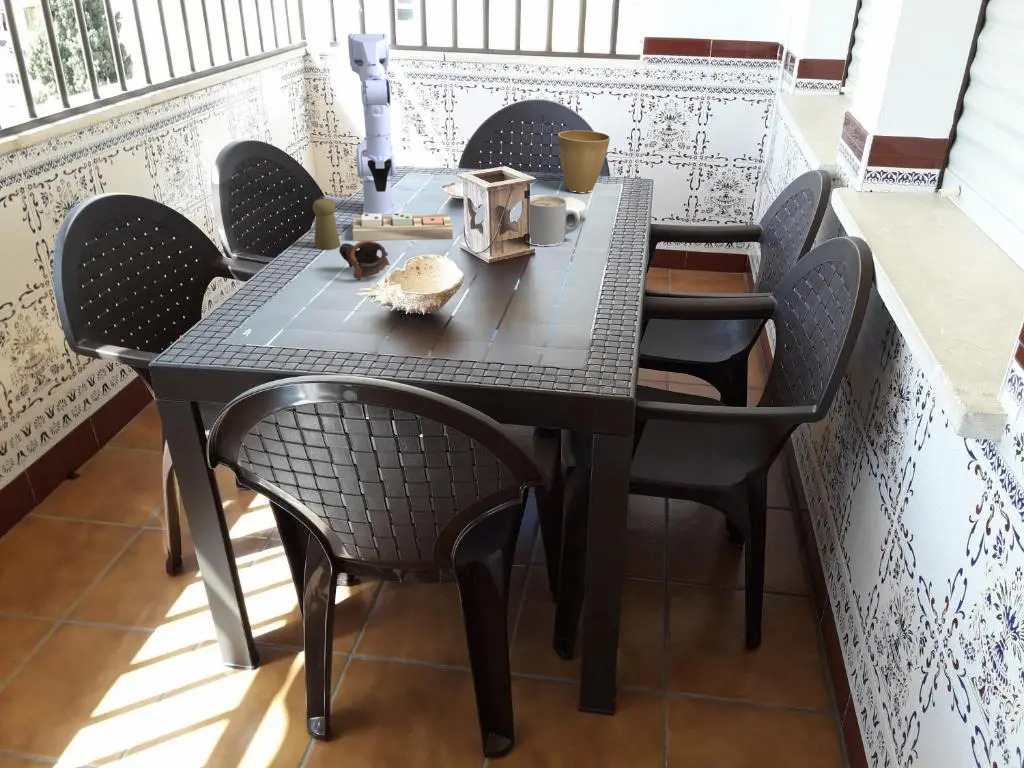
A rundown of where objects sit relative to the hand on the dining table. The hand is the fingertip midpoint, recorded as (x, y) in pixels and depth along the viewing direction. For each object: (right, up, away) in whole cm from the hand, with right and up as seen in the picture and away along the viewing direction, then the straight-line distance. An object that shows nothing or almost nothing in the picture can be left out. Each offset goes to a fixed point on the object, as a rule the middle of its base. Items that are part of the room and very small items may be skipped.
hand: (380, 191), depth 199 cm
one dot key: (+12, -10, +7) cm, 17 cm away
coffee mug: (+41, -12, +3) cm, 43 cm away
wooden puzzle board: (+5, -9, +6) cm, 11 cm away
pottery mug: (-1, -23, -19) cm, 29 cm away
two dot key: (-3, -9, +5) cm, 11 cm away
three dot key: (+5, -9, +6) cm, 11 cm away
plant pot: (+52, +10, +43) cm, 68 cm away
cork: (-12, -14, -4) cm, 19 cm away
